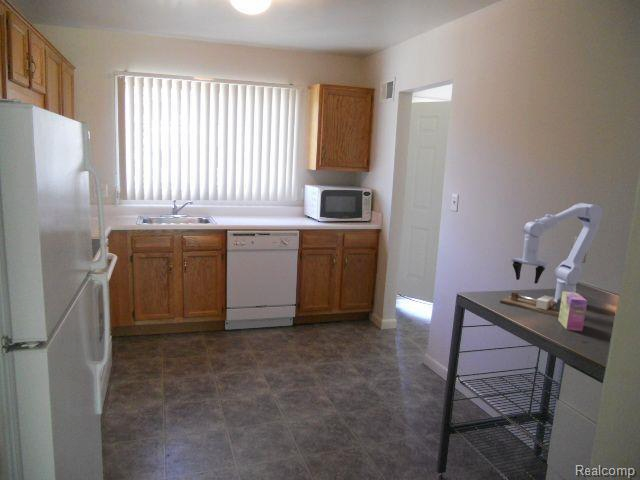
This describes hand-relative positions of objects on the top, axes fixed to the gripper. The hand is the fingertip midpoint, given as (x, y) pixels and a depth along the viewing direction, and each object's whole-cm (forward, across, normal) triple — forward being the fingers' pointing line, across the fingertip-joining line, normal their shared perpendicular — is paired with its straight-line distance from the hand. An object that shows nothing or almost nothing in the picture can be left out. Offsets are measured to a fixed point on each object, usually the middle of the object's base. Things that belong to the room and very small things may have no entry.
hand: (526, 281), depth 204 cm
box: (+10, +23, -18) cm, 31 cm away
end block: (+9, +16, -4) cm, 19 cm away
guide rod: (+7, +7, -4) cm, 10 cm away
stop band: (+8, +12, -4) cm, 15 cm away
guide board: (+9, +6, -4) cm, 12 cm away
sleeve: (+8, +9, -4) cm, 13 cm away
